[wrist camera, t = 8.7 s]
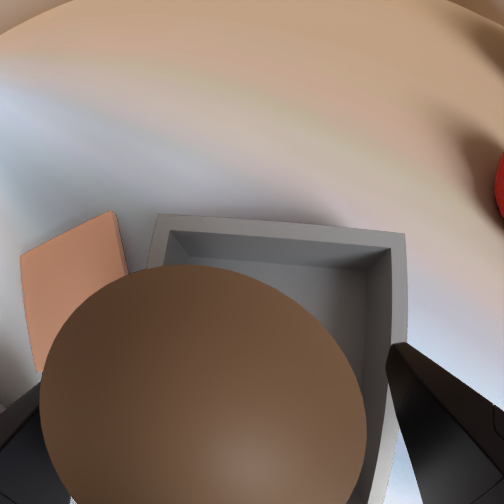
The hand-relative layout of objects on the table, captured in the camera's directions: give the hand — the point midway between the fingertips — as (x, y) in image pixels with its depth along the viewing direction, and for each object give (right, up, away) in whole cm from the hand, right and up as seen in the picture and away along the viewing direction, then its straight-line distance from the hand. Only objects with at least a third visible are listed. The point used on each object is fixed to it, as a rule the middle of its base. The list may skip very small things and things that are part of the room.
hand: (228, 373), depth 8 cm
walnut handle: (+1, -3, +8) cm, 9 cm away
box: (+2, -4, +9) cm, 10 cm away
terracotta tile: (-12, 0, +11) cm, 16 cm away
